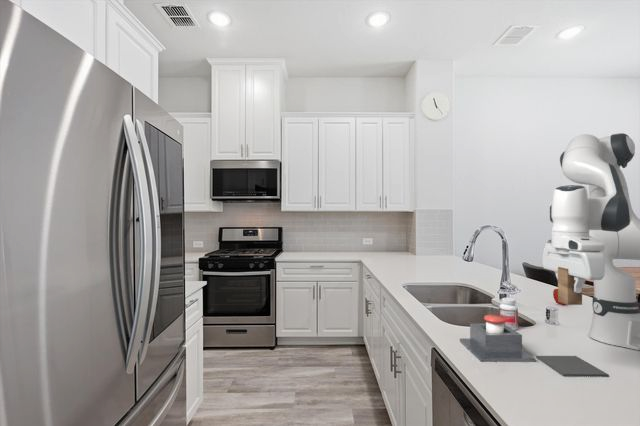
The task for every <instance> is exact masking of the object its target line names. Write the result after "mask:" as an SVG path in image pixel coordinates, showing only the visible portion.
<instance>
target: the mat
mask: <svg viewBox="0 0 640 426" xmlns="http://www.w3.org/2000/svg"><path fill="white" fill-rule="evenodd" d="M535 359H537V360H538V361H540V362H542V363H543V364H545V365H546V366H548V367H549V368H551V369H552V370H553V371H555V372H556V373H558V375H561V377H583V376H584V378H585V376H586V377H587V376H588V378H589V376H590V377H595V378H596V377H598V376H599V377H600V376H601V377H602V378H603V377H604V378H605V377H607V378H608V377H609V375H610V374H609V373H607V372H605V371H604V370H601V368H598V367H597V366H595V365H593V364H591V363H589V362H587V361H586V360H584V359H583V358H580V357H579V356H577V355H535Z"/></svg>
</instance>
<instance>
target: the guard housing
mask: <svg viewBox="0 0 640 426" xmlns="http://www.w3.org/2000/svg"><path fill="white" fill-rule="evenodd" d="M459 343H460V344H462V345H463V347H464V348H466V349H467V350H468V351H469V352H470V353H471V354H472V355H473V356H474V357H475V358H476V359H477V360H478V361H479V362H482V363H483V362H487V363H491V362H492V363H498V362H499V363H503V362H504V363H506V362H507V363H511V362H512V363H517V362H518V363H523V362H524V363H535V362H536V357H534V356H533V355H531V354H530V353H528V352H527V351H526V350H524V349H523V334H521V333H520V332H517V330H513V329H511V328H510V327H508V326H506V325H505V324H504V333H489V332H487V331H486V322H485V323H484V322H483V323H482V322H481V323H476V322H475V323H472V322H471V323H469V338H459Z"/></svg>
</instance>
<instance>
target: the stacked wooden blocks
mask: <svg viewBox="0 0 640 426" xmlns="http://www.w3.org/2000/svg"><path fill="white" fill-rule="evenodd" d="M575 281H576V280H574V276H571V275H569V273H568V269H566V268H561V267H558V279H557V289H558V301H559V302H562V303H564V304H566V305H568V306H569V305H570V306H574V305H575V306H582V305H583V291H582V292H581V293H576V292H573V291H572V285H574V284H575Z"/></svg>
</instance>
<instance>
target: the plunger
mask: <svg viewBox="0 0 640 426" xmlns="http://www.w3.org/2000/svg"><path fill="white" fill-rule="evenodd" d="M483 319H484V321H485V323H486V331H487V332H489V333H504V323H505V318H504V317H502V316H500V315H499V314H498V315H497V314H486V315H484V316H483Z"/></svg>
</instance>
